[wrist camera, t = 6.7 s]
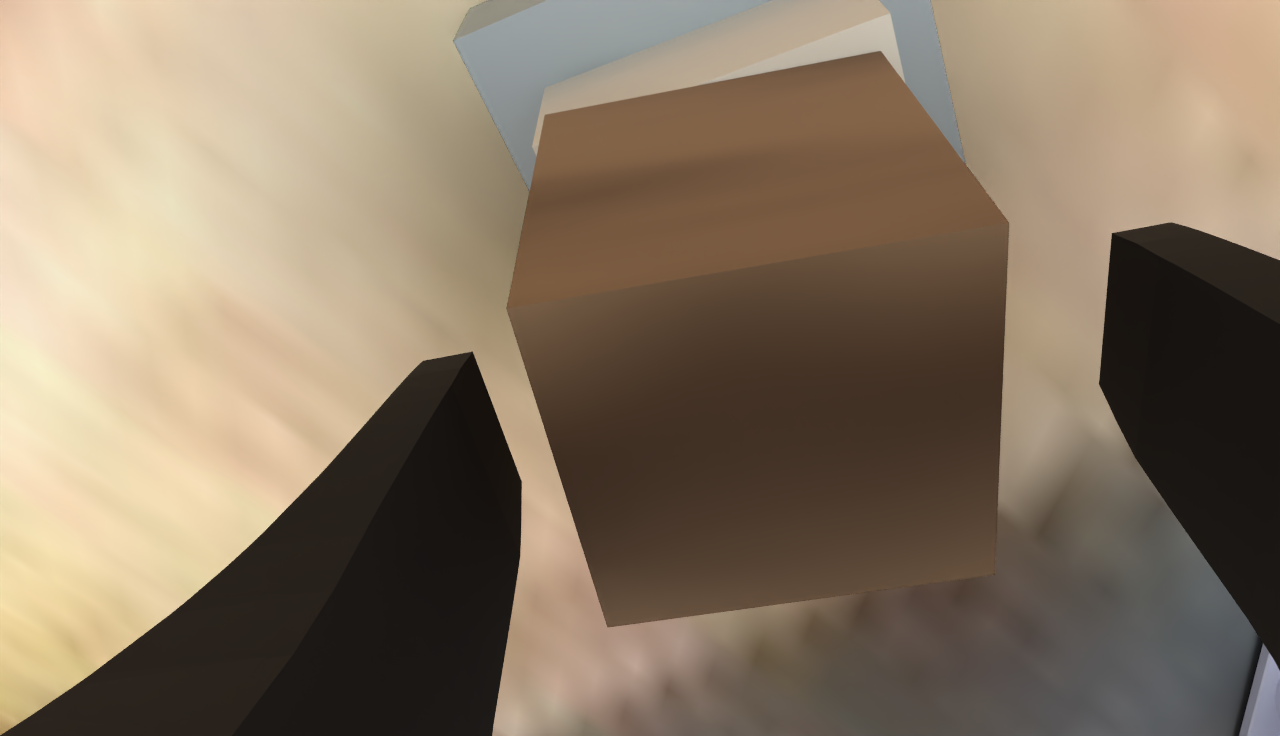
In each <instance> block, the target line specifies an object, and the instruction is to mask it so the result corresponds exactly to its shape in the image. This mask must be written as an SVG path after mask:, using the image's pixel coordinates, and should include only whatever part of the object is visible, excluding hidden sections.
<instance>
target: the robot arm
mask: <svg viewBox="0 0 1280 736" xmlns="http://www.w3.org/2000/svg"><path fill="white" fill-rule="evenodd" d="M1099 385H1100V387H1101V389H1102V391H1103V393H1104V396H1105V398H1106V400H1107V402H1108V404H1109V406H1110V408H1111V410H1112V412H1113V415H1114V417H1115V419H1116V421H1117V423H1118V425H1119V427H1120V429H1121V431H1122V433H1123V435H1124V437H1125V439H1126V441H1127V443H1128V444H1129V446H1130V448H1131V450H1132V452H1133V454H1134V456H1135V458H1136V459H1137V461H1138V462H1139V464H1140V465H1141V467H1142V468H1143V470H1144V471H1145V473H1146V474H1147V476H1148V477H1149V479H1150V480H1151V482H1152V483H1153V484H1154V486H1155V487H1156V489H1157V490H1158V492H1159V493H1160V495H1161V496H1162V498H1163V499H1164V500H1165V502H1166V503H1167V505H1168V506H1169V508H1170V509H1171V511H1172V512H1173V513H1174V515H1175V516H1176V518H1177V519H1178V521H1179V522H1180V523H1181V525H1182V526H1183V528H1184V529H1185V531H1186V532H1187V533H1188V535H1189V536H1190V538H1191V539H1192V540H1193V542H1194V543H1195V545H1196V546H1197V548H1198V549H1199V550H1200V552H1201V553H1202V555H1203V556H1204V558H1205V559H1206V560H1207V562H1208V563H1209V565H1210V566H1211V567H1212V569H1213V570H1214V572H1215V573H1216V575H1217V576H1218V577H1219V579H1220V580H1221V582H1222V583H1223V585H1224V586H1225V587H1226V589H1227V590H1228V592H1229V593H1230V594H1231V596H1232V597H1233V599H1234V600H1235V602H1236V603H1237V604H1238V606H1239V607H1240V609H1241V610H1242V612H1243V613H1244V614H1245V616H1246V617H1247V619H1248V620H1249V622H1250V623H1251V625H1252V626H1253V628H1254V630H1255V631H1256V633H1257V634H1258V636H1259V637H1260V639H1261V640H1262V642H1263V646H1262V650H1261V654H1260V657H1259V661H1258V665H1257V669H1256V673H1255V677H1254V680H1253V684H1252V688H1251V692H1250V696H1249V700H1248V704H1247V707H1246V711H1245V715H1244V719H1243V723H1242V727H1241V730H1240V734H1239V736H1280V260H1277V259H1275V258H1272V257H1269V256H1267V255H1264V254H1262V253H1259V252H1256V251H1254V250H1251V249H1248V248H1246V247H1243V246H1240V245H1238V244H1235V243H1232V242H1230V241H1227V240H1224V239H1221V238H1219V237H1216V236H1213V235H1210V234H1207V233H1205V232H1202V231H1199V230H1195V229H1192V228H1189V227H1186V226H1182V225H1178V224H1175V223H1165V224H1160V225H1154V226H1149V227H1144V228H1138V229H1133V230H1127V231H1122V232H1117V233H1112V239H1111V251H1110V263H1109V274H1108V286H1107V298H1106V310H1105V321H1104V333H1103V345H1102V357H1101V368H1100V380H1099ZM521 490H522V481H521V479H520V476H519V474H518V471H517V468H516V466H515V463H514V460H513V458H512V455H511V452H510V450H509V447H508V444H507V442H506V439H505V436H504V434H503V431H502V428H501V426H500V423H499V420H498V418H497V415H496V412H495V410H494V407H493V405H492V402H491V399H490V397H489V394H488V391H487V389H486V386H485V383H484V381H483V378H482V375H481V373H480V370H479V367H478V365H477V362H476V359H475V357H474V354H473V352H469V353H463V354H458V355H453V356H447V357H442V358H436V359H431V360H426V361H422V362H421V363H420V364H419V365H418V366H417V367H416V368H415V369H414V370H413V371H412V372H411V373H410V374H409V375H408V377H407V378H406V379H405V380H404V381H403V382H402V383H401V384H400V385H399V386H398V388H397V389H396V390H395V391H394V392H393V393H392V394H391V395H390V397H389V398H388V399H387V400H386V401H385V402H384V403H383V405H382V406H381V407H380V408H379V409H378V410H377V411H376V413H375V414H374V415H373V416H372V417H371V418H370V419H369V421H368V422H367V423H366V424H365V425H364V426H363V427H362V429H361V430H360V431H359V432H358V433H357V434H356V435H355V436H354V437H353V439H352V440H351V441H350V442H349V443H348V444H347V445H346V446H345V448H344V449H343V450H342V451H341V452H340V453H339V454H338V455H337V457H336V458H335V459H334V460H333V461H332V462H331V463H330V464H329V466H328V467H327V468H326V469H325V470H324V471H323V472H322V473H321V474H320V475H319V476H318V477H317V478H316V479H315V480H314V481H313V482H312V483H311V484H310V485H309V486H308V487H307V489H306V490H305V491H304V492H303V493H302V494H301V495H300V496H299V497H298V498H297V499H296V500H295V501H294V502H293V503H292V504H291V505H290V506H289V507H288V508H287V509H286V510H285V511H284V512H283V513H282V514H281V515H280V516H279V517H278V518H277V519H276V520H275V521H274V522H273V523H272V524H271V525H270V526H269V527H268V528H267V529H266V531H265V532H264V533H263V534H261V535H260V536H259V537H258V538H257V539H256V540H255V541H254V542H253V543H252V544H251V545H250V546H249V547H248V548H247V549H246V550H244V551H243V552H242V553H241V554H240V555H239V556H238V557H237V558H236V559H235V560H234V561H232V562H231V563H230V564H229V565H228V566H227V567H226V568H225V569H224V570H222V571H221V572H220V573H219V574H218V575H217V576H215V577H214V578H213V579H212V580H211V581H210V582H208V583H207V584H206V585H205V586H204V587H203V588H201V589H200V590H199V591H198V592H197V593H196V594H194V595H193V596H192V597H191V598H190V599H189V600H187V601H186V602H185V603H184V604H183V605H181V606H180V607H179V608H178V609H176V610H175V611H174V612H173V613H172V614H170V615H169V616H168V617H166V618H165V619H164V620H162V621H161V622H160V623H158V624H157V625H156V626H154V627H153V628H152V629H150V630H149V631H148V632H147V633H145V634H144V635H143V636H141V637H140V638H139V639H137V640H136V641H135V642H133V643H132V644H131V645H129V646H128V647H127V648H125V649H124V650H123V651H121V652H120V653H119V654H117V655H116V656H115V657H113V658H112V659H111V660H109V661H108V662H107V663H106V664H104V665H103V666H102V667H100V668H99V669H98V670H96V671H95V672H94V673H92V674H91V675H90V676H88V677H87V678H85V679H84V680H83V681H81V682H80V683H78V684H77V685H75V686H74V687H73V688H71V689H70V690H68V691H67V692H65V693H64V694H62V695H61V696H59V697H58V698H56V699H55V700H53V701H52V702H50V703H49V704H47V705H46V706H45V707H43V708H42V709H40V710H39V711H37V712H36V713H34V714H33V715H31V716H30V717H28V718H27V719H25V720H24V721H22V722H20V723H19V724H17V725H16V726H14V727H13V728H11V729H10V730H8V731H6V732H5V733H3V734H2V735H0V736H492V732H493V724H494V718H495V711H496V705H497V699H498V693H499V687H500V681H501V675H502V668H503V662H504V656H505V650H506V644H507V638H508V632H509V625H510V619H511V613H512V607H513V600H514V594H515V587H516V581H517V574H518V567H519V560H520V546H521Z"/></svg>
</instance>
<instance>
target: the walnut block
mask: <svg viewBox="0 0 1280 736" xmlns="http://www.w3.org/2000/svg"><path fill="white" fill-rule="evenodd" d="M1008 237H1009V222H1008V221H1007V219H1006V218H1005V217H1004V215H1003V214H1002V213H1001V211H1000V210H999V209H998V207H997V206H996V205H995V203H994V202H993V201H992V199H991V198H990V197H989V195H988V194H987V193H986V191H985V190H984V189H983V187H982V186H981V184H980V183H979V182H978V180H977V179H976V178H975V176H974V175H973V174H972V172H971V171H970V170H969V168H968V167H967V166H966V164H965V163H964V162H963V160H962V159H961V158H960V156H959V155H958V154H957V152H956V151H955V150H954V148H953V147H952V146H951V144H950V143H949V142H948V140H947V139H946V138H945V136H944V135H943V133H942V132H941V131H940V129H939V128H938V127H937V125H936V124H935V123H934V121H933V120H932V119H931V117H930V116H929V115H928V113H927V112H926V111H925V109H924V108H923V107H922V105H921V104H920V103H919V101H918V100H917V99H916V97H915V96H914V95H913V93H912V92H911V91H910V89H909V88H908V87H907V85H906V84H905V83H904V81H903V80H902V78H901V77H900V76H899V74H898V73H897V72H896V70H895V69H894V68H893V66H892V65H891V64H890V62H889V61H888V60H887V58H886V57H885V56H884V54H883V53H882V52H881V51H877V52H872V53H867V54H862V55H856V56H851V57H846V58H841V59H835V60H830V61H825V62H820V63H814V64H809V65H804V66H799V67H793V68H788V69H783V70H778V71H772V72H767V73H762V74H757V75H751V76H746V77H741V78H736V79H730V80H725V81H720V82H715V83H709V84H704V85H699V86H694V87H688V88H683V89H678V90H673V91H667V92H662V93H657V94H651V95H646V96H641V97H636V98H630V99H625V100H620V101H615V102H609V103H604V104H599V105H594V106H588V107H583V108H578V109H573V110H567V111H562V112H557V113H552V114H546V115H545V116H544V121H543V126H542V131H541V136H540V141H539V146H538V152H537V157H536V162H535V167H534V172H533V177H532V182H531V187H530V192H529V197H528V202H527V207H526V213H525V218H524V223H523V228H522V233H521V238H520V243H519V248H518V253H517V258H516V263H515V268H514V274H513V279H512V284H511V289H510V294H509V299H508V304H507V311H508V315H509V318H510V321H511V324H512V327H513V330H514V333H515V337H516V340H517V343H518V346H519V349H520V352H521V356H522V359H523V362H524V365H525V368H526V371H527V375H528V378H529V381H530V384H531V387H532V390H533V393H534V397H535V400H536V403H537V406H538V409H539V412H540V416H541V419H542V422H543V425H544V428H545V431H546V435H547V438H548V441H549V444H550V447H551V450H552V453H553V457H554V460H555V463H556V466H557V469H558V472H559V476H560V479H561V482H562V485H563V488H564V491H565V495H566V498H567V501H568V504H569V507H570V510H571V513H572V517H573V520H574V523H575V526H576V529H577V532H578V536H579V539H580V542H581V545H582V548H583V551H584V554H585V558H586V561H587V564H588V567H589V570H590V573H591V577H592V580H593V583H594V586H595V589H596V592H597V596H598V599H599V602H600V605H601V608H602V611H603V614H604V618H605V621H606V624H607V627H614V626H622V625H629V624H636V623H644V622H651V621H658V620H666V619H673V618H681V617H688V616H695V615H703V614H710V613H717V612H725V611H732V610H739V609H747V608H754V607H762V606H769V605H776V604H784V603H791V602H798V601H806V600H813V599H821V598H828V597H835V596H843V595H850V594H857V593H865V592H872V591H879V590H887V589H894V588H902V587H909V586H916V585H924V584H931V583H938V582H946V581H953V580H960V579H968V578H975V577H983V576H990V575H995V557H996V532H997V507H998V483H999V458H1000V433H1001V409H1002V384H1003V360H1004V335H1005V310H1006V286H1007V261H1008Z"/></svg>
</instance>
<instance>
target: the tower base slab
mask: <svg viewBox="0 0 1280 736" xmlns="http://www.w3.org/2000/svg"><path fill="white" fill-rule="evenodd" d="M769 1H771V0H488V1H486V2H483V3H481V4H479V5H476V6H474V7H472V8H470V9H469V11H468V13H467V15H466V17H465V19H464V21H463V23H462V24H461V26H460V28H459V30H458V32H457V34H456V36H455V38H454V40H453V42H454V44H455V46H456V48H457V50H458V52H459V54H460V56H461V58H462V60H463V61H464V63H465V65H466V67H467V69H468V71H469V73H470V75H471V77H472V79H473V81H474V83H475V85H476V87H477V89H478V91H479V93H480V95H481V97H482V99H483V101H484V103H485V105H486V107H487V109H488V111H489V113H490V115H491V117H492V119H493V121H494V123H495V125H496V127H497V129H498V130H499V132H500V134H501V136H502V138H503V140H504V142H505V144H506V146H507V148H508V150H509V152H510V154H511V156H512V158H513V160H514V162H515V164H516V166H517V168H518V170H519V172H520V174H521V176H522V178H523V180H524V182H525V184H526V186H527V188H528V190H529V192H530V187H531V182H532V177H533V172H534V167H535V162H536V157H537V156H536V154H535V152H534V150H533V148H532V145H533V140H534V135H535V131H536V126H537V121H538V116H539V112H540V107H541V102H542V98H543V93H544V88H545V87H548V86H551V85H553V84H556V83H558V82H561V81H564V80H566V79H569V78H571V77H574V76H577V75H579V74H582V73H584V72H587V71H590V70H592V69H595V68H597V67H600V66H602V65H605V64H608V63H610V62H613V61H615V60H618V59H621V58H623V57H626V56H628V55H631V54H634V53H636V52H639V51H641V50H644V49H647V48H649V47H652V46H654V45H657V44H660V43H662V42H665V41H667V40H670V39H673V38H675V37H678V36H680V35H683V34H686V33H688V32H691V31H693V30H696V29H699V28H701V27H704V26H706V25H709V24H712V23H714V22H717V21H719V20H722V19H725V18H727V17H730V16H732V15H735V14H738V13H740V12H743V11H745V10H748V9H751V8H753V7H756V6H758V5H761V4H764V3H766V2H769ZM879 1H880V2H881V3H882V4H883V5H884V7H885V8H886V9H887V10H888V11H889V12H890V14H891V19H892V24H893V28H894V33H895V37H896V42H897V47H898V51H899V56H900V61H901V65H902V70H903V74H904V79H905V84H906V85H907V87H908V88H909V89H910V91H911V92H912V93H913V95H914V96H915V97H916V99H917V100H918V101H919V103H920V104H921V105H922V107H923V108H924V109H925V111H926V112H927V113H928V115H929V116H930V117H931V119H932V120H933V121H934V123H935V124H936V125H937V127H938V128H939V129H940V131H941V132H942V133H943V135H944V136H945V138H946V139H947V140H948V142H949V143H950V144H951V146H952V147H953V148H954V150H955V151H956V152H957V154H958V155H959V156H960V158H961V159H962V160H963V162H964V163H965V159H964V154H963V149H962V145H961V140H960V135H959V131H958V126H957V121H956V117H955V112H954V107H953V103H952V98H951V94H950V89H949V84H948V80H947V75H946V70H945V66H944V61H943V56H942V52H941V47H940V42H939V38H938V33H937V28H936V24H935V19H934V15H933V10H932V5H931V1H930V0H879ZM965 164H966V163H965Z"/></svg>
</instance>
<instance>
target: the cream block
mask: <svg viewBox="0 0 1280 736" xmlns="http://www.w3.org/2000/svg"><path fill="white" fill-rule="evenodd" d="M877 51H881V52H882V53H883V54H884V56H885V57H886V58H887V60H888V61H889V62H890V64H891V65H892V66H893V68H894V69H895V70H896V72H897V73H898V74H899V76H900V77H901V78H902V80H903V81H904V83H905V79H904V74H903V70H902V65H901V61H900V56H899V51H898V47H897V42H896V37H895V33H894V28H893V24H892V19H891V14H890V12H889V11H888V10H887V9H886V8H885V7H884V5H883V4H882V3H881V2H880V1H879V0H771V1H769V2H766V3H764V4H761V5H758V6H756V7H753V8H751V9H748V10H745V11H743V12H740V13H738V14H735V15H732V16H730V17H727V18H725V19H722V20H719V21H717V22H714V23H712V24H709V25H706V26H704V27H701V28H699V29H696V30H693V31H691V32H688V33H686V34H683V35H680V36H678V37H675V38H673V39H670V40H667V41H665V42H662V43H660V44H657V45H654V46H652V47H649V48H647V49H644V50H641V51H639V52H636V53H634V54H631V55H628V56H626V57H623V58H621V59H618V60H615V61H613V62H610V63H608V64H605V65H602V66H600V67H597V68H595V69H592V70H590V71H587V72H584V73H582V74H579V75H577V76H574V77H571V78H569V79H566V80H564V81H561V82H558V83H556V84H553V85H551V86H548V87H545V88H544V93H543V98H542V102H541V107H540V112H539V116H538V121H537V126H536V131H535V135H534V140H533V145H532V148H533V150H534V152H535V154H536V156H537V152H538V146H539V141H540V136H541V131H542V126H543V121H544V116H545V115H546V114H552V113H557V112H562V111H567V110H573V109H578V108H583V107H588V106H594V105H599V104H604V103H609V102H615V101H620V100H625V99H630V98H636V97H641V96H646V95H651V94H657V93H662V92H667V91H673V90H678V89H683V88H688V87H694V86H699V85H704V84H709V83H715V82H720V81H725V80H730V79H736V78H741V77H746V76H751V75H757V74H762V73H767V72H772V71H778V70H783V69H788V68H793V67H799V66H804V65H809V64H814V63H820V62H825V61H830V60H835V59H841V58H846V57H851V56H856V55H862V54H867V53H872V52H877Z"/></svg>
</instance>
